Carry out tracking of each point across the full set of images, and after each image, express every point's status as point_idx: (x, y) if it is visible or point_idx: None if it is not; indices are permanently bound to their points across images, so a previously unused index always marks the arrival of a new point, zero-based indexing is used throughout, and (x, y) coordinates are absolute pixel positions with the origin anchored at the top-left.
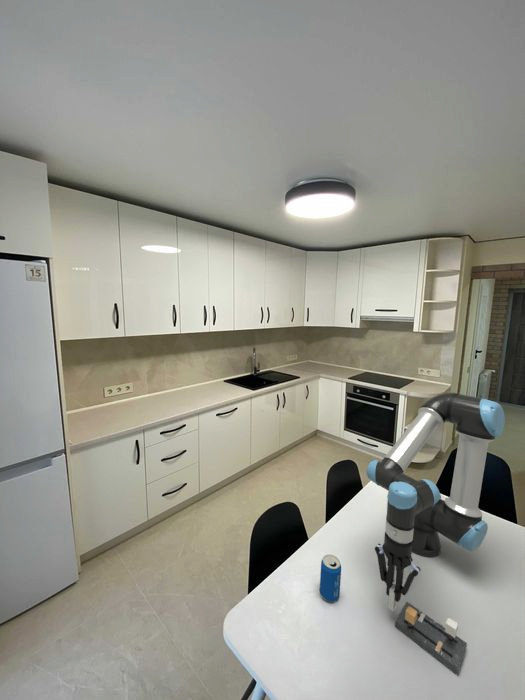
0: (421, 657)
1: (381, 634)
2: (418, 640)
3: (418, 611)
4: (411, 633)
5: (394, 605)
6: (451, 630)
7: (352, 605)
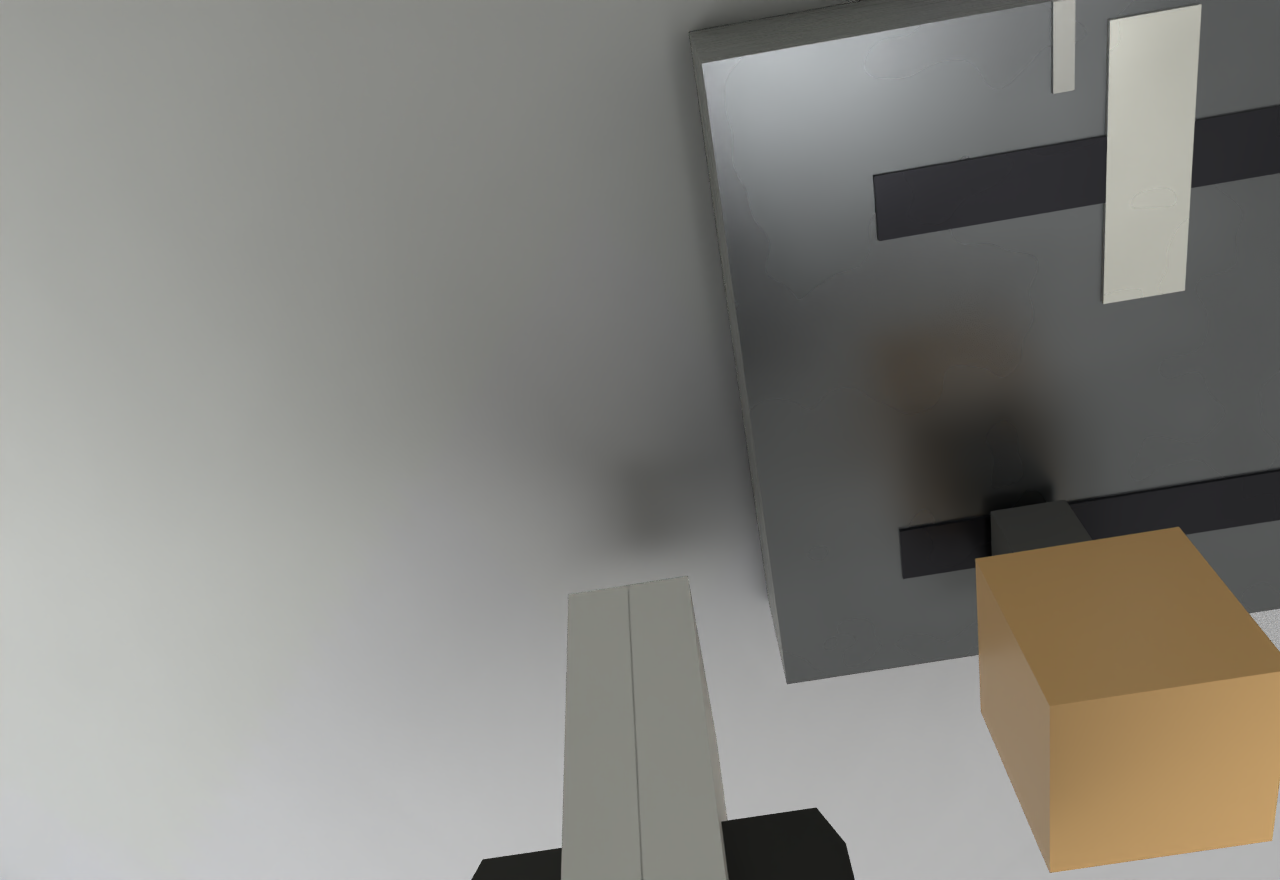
0: None
1: None
2: None
3: (1034, 71)
4: None
5: (718, 772)
6: None
7: (139, 860)
